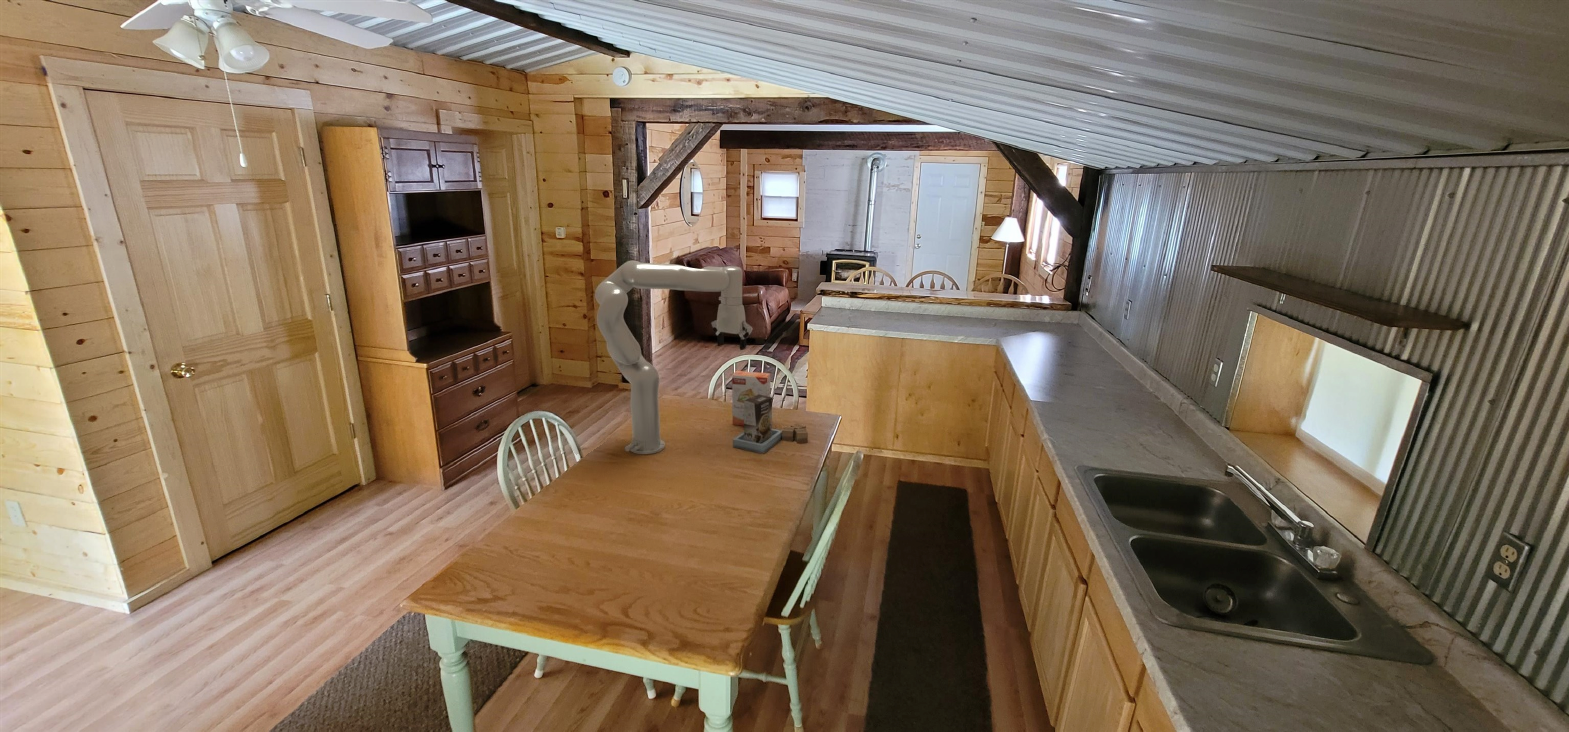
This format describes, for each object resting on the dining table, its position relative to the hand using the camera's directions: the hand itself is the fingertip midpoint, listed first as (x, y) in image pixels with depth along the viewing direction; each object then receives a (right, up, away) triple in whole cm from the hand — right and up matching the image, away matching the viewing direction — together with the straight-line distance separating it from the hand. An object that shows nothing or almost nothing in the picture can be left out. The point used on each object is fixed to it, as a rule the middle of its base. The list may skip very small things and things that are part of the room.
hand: (731, 347), depth 237 cm
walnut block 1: (+21, -34, +3) cm, 40 cm away
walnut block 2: (+25, -33, +6) cm, 42 cm away
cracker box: (+6, -30, +16) cm, 35 cm away
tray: (+10, -35, -1) cm, 36 cm away
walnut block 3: (+26, -35, +1) cm, 43 cm away
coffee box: (+10, -34, -1) cm, 36 cm away
